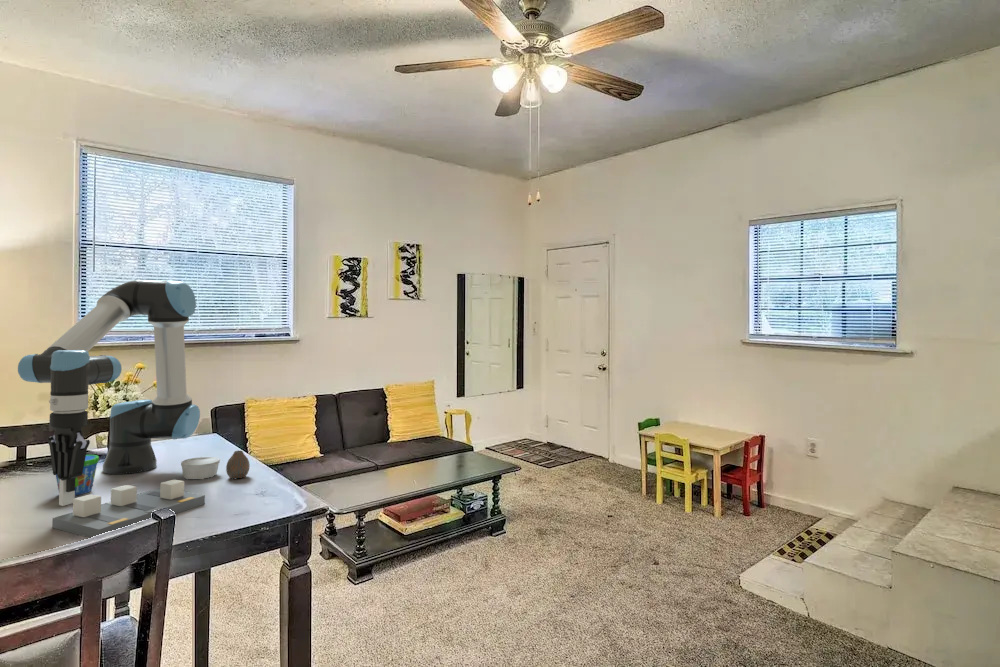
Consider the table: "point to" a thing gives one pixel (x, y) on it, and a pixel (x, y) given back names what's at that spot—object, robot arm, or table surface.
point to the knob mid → (123, 495)
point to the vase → (237, 465)
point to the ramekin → (200, 467)
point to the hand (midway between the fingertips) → (66, 503)
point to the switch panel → (125, 513)
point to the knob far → (172, 489)
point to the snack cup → (85, 475)
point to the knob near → (86, 505)
